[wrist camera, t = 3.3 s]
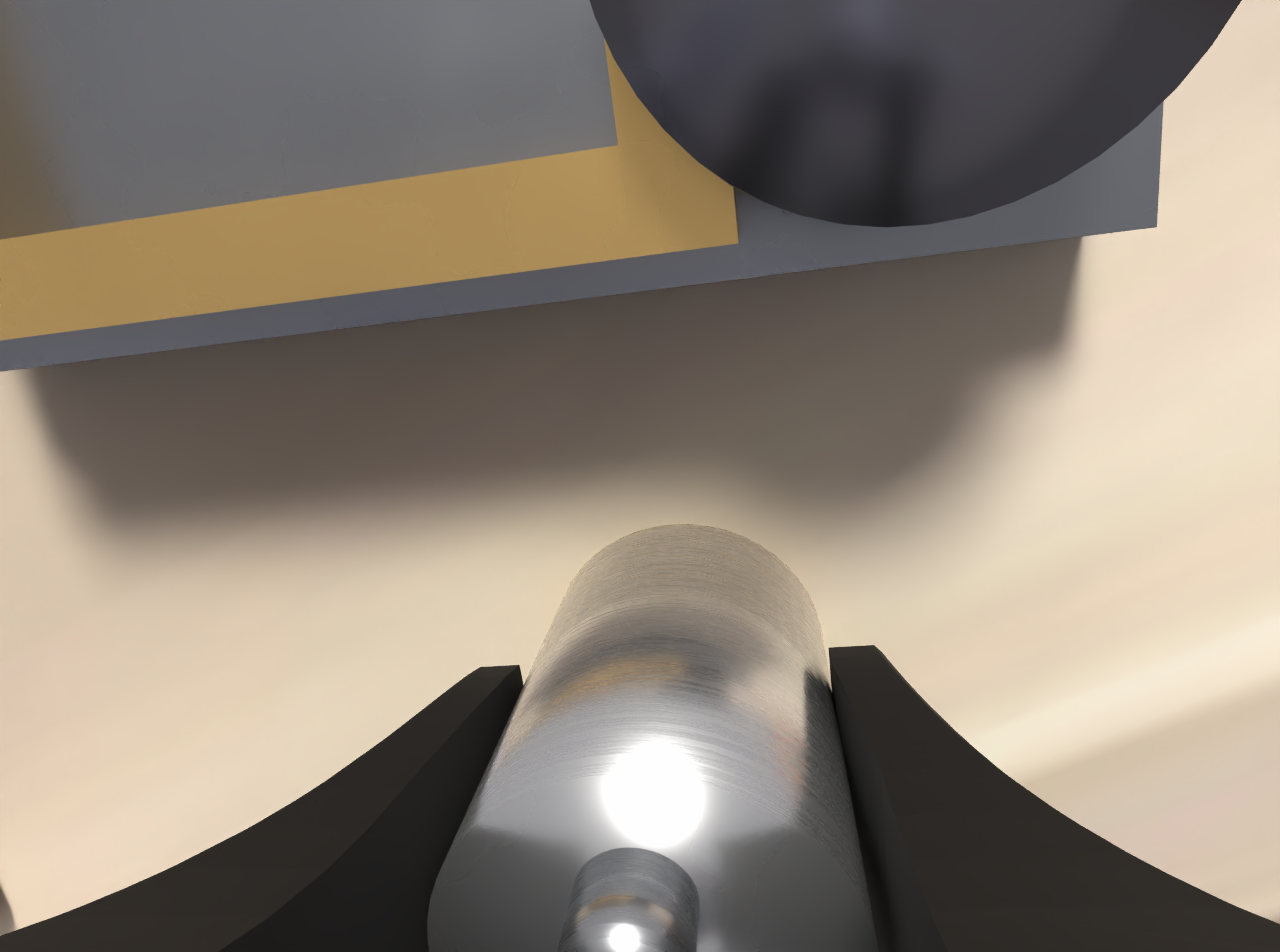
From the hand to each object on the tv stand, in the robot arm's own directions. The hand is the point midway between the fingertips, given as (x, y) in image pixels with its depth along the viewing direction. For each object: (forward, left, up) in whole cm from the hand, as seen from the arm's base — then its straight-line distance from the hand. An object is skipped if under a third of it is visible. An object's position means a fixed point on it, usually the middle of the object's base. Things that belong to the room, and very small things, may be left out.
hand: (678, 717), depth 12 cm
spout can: (0, 0, -2) cm, 2 cm away
